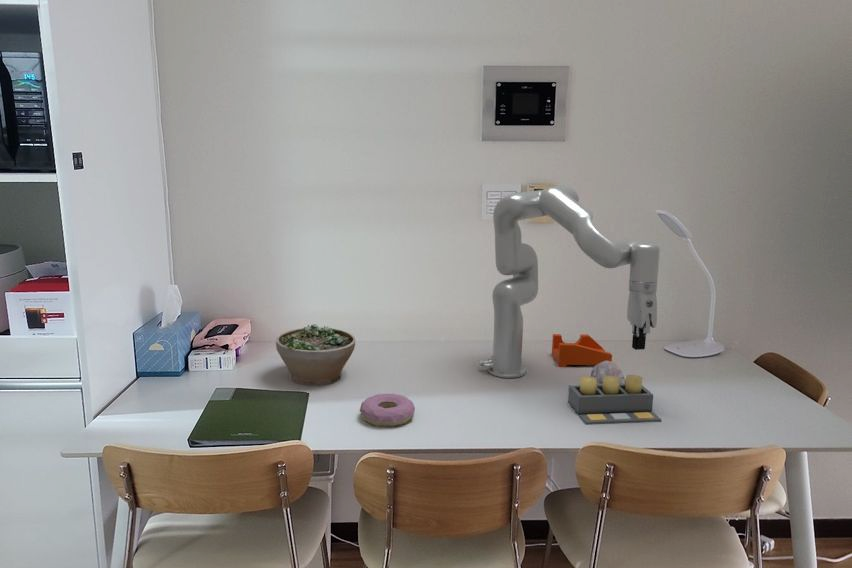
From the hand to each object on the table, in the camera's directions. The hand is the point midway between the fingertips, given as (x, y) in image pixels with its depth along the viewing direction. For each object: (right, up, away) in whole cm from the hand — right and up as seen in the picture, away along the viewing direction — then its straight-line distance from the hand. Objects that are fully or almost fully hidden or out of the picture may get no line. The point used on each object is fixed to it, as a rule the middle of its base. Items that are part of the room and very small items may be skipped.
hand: (638, 348), depth 193 cm
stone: (-3, -14, +22) cm, 26 cm away
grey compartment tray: (-7, -18, +3) cm, 19 cm away
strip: (-6, -19, -4) cm, 21 cm away
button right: (-1, -13, +3) cm, 14 cm away
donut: (-72, -19, -5) cm, 75 cm away
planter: (-97, -12, +24) cm, 100 cm away
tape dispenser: (-7, -9, +43) cm, 45 cm away
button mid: (-7, -14, +3) cm, 16 cm away
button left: (-14, -14, +2) cm, 20 cm away
